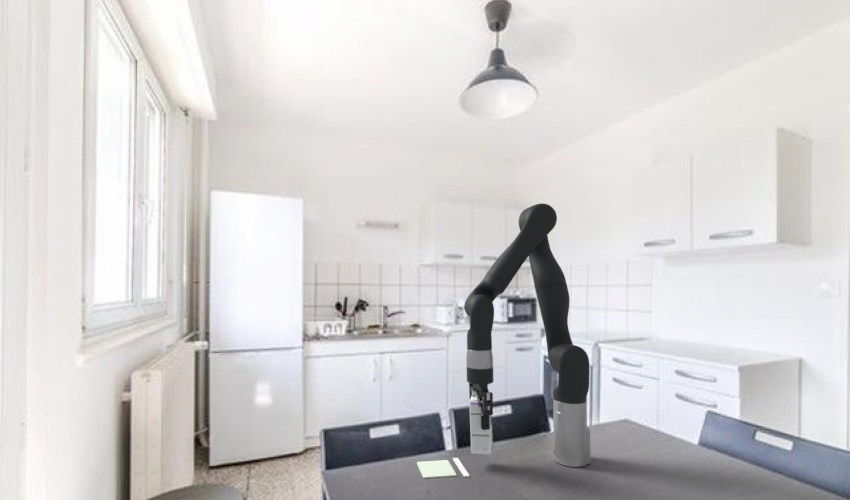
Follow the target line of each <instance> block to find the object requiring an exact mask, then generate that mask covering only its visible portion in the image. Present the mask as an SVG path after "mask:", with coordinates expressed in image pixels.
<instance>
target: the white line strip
mask: <svg viewBox="0 0 850 500" xmlns="http://www.w3.org/2000/svg"><path fill="white" fill-rule="evenodd" d="M452 460H453V462H454V463H455V465H456V467H457V468H458V470H459V471H460V473H461V475H462V476H463V477H464V478H469V477H470V473H469V472H468V471H467V469H466V468H465V467H464V465H463V464H462V462H461V461H460V459H459V458H458V457H452Z"/></svg>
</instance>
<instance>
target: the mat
mask: <svg viewBox="0 0 850 500" xmlns="http://www.w3.org/2000/svg"><path fill="white" fill-rule="evenodd" d="M416 464H417V467H418V469H419V472H420V474H421V476H422V478H423V479H433V478H435V479H436V478H447V477H457V473H456V471H455V469H454V468H453V466H452V464H451V463H450V461H449V460H448V459H444V460H443V459H442V460H427V461H425V460H424V461H417V462H416Z"/></svg>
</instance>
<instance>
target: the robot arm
mask: <svg viewBox="0 0 850 500" xmlns="http://www.w3.org/2000/svg"><path fill="white" fill-rule="evenodd" d="M557 220H558V217H557V212H556V210H555V208H553V207H552V206H551V205H550V204H547V203H537V204H533V205H531V206H529V207H527V208H525V209H523V210H522V212H520V214H519V216H518V227H519V232H518V234H517V236H516V237H515V238H514V239H513V241H512V242H511V243H510V244H509V246H508V247H506V249H504V251H503V252H502V253H501V254H500V255H499V256H498V257H497V259H496V260H495V261H494V262H493V264H492V265H491V267H490V268H489V269H488V271H487V273H486V274H485V276H484V277H483V279H482V280H481V281H480V282H479V283H478V285H477V286H475V288H473V290H472V291H471V292H470V293H469V295H468V296H467V298H466V299H465V302H464V307H463V308H464V312H465V313H466V315H467V316H468V317H469V318H470V319H469V329H468V330H467V334H466V357H465V359H466V381H467V383H468V387H469V389H468V390H469V391H468V393H469V399H470V398H471V396H472V397H476V400H477V405H478V407H479V408H480V412H481V428H482V430H488V429H489V428H490V419H489V415H492V416H493V414H494V410H493V409H494V408H493V407H494V405H493V404H494V403H493V402H494V401H493V400H494V397H493V396H494V395H493V392H491V391H490V390H489V387H488V386H489V385H491V384H492V383H494V355H493V344H492V343H493V342H492V341H493V340H492V339H493V337H492V330H493V327H494V317H495V306H494V301H495V299H496V298H498V296H499V295H501V294H503V293H504V292H505V291H506V289H507V288H508V287H509V285H510V283H511V282H512V281H513V279H514V278H515V276H516V274H517V273H518V272H519V270H520V268H521V267H522V265H523V264H524V263H525V261H527V259H528V260H529V261H528V262H529V265H530V270H531V275H532V279H533V284H534V290H535V294H536V298H537V302H538V307H539V310H540V315H541V320H542V323H543V327H544V333H545V340H546V348H547V356H548V357H547V358H548V362H549V364H550V366H551V368H552V369H553V370H554V371H556V372H557V373H558V384H557V386H556V387H554V388H553V390H552V396H553V397H552V402H553V403H552V412H553V413H552V414H553V416H552V418H553V420H552V423H553V460H554V461H555V462H556V463H557V464H560V465H562V466H566V467H572V468H582V467H585V466H587V465H589V464H591V463H592V462H591V430H590V428H589V427H588V421H587V420H588V417H587V415H588V413H587V412H588V411H587V396H588V393H589V390H590V370H591V369H590V359H589V355H588V353H587V352H586V350H585V349H584V348H582V347H581V346H578V345H575V344H574V343H573V340H572V337H571V333H570V329H569V325H568V320H569V311H570V293H569V288H568V285H567V280H566V276H565V273H564V271H563V270H562V268H561V266H560V265H559V263H558V261H557V259H556V258H555V256H554V254H553V251H552V250H551V246H550V242H549V236H548V235H549V234H550V233H551V232H552V230H553V229H554V228H555V226H556V224H557ZM482 400H483V403H480V401H482ZM489 406H490V407H489ZM486 407H487V410H486Z"/></svg>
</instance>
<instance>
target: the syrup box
mask: <svg viewBox="0 0 850 500" xmlns="http://www.w3.org/2000/svg"><path fill="white" fill-rule="evenodd" d="M480 403H483V400H482V401H480ZM468 405H469V426H470V427H469V429H470V430H469V432H470V434H469V435H470V452H471V454H473V455H487V456H488V455H492V453H493V447H494V446H493V444H494V443H493V420H492V418H493V415H489V419H490V428H489V429H488V430H482V428H481V412H480V408H479V407H478V405H477V400H476V397H472V396H471V398H470V397H469V403H468ZM489 407H490V406H489ZM486 410H487V407H486Z"/></svg>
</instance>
